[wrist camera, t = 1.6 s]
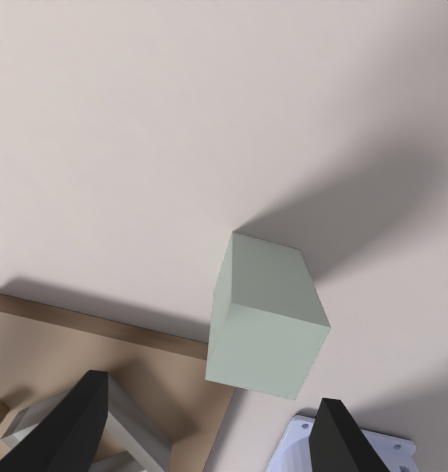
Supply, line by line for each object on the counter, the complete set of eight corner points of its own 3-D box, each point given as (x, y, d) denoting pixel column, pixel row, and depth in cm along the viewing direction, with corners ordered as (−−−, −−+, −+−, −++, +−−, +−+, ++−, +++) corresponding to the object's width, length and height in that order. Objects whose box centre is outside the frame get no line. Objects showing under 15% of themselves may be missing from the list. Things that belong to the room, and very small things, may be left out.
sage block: (299, 249, 20) (331, 327, 13) (276, 306, 21) (295, 400, 15) (232, 231, 20) (231, 302, 13) (213, 290, 21) (205, 379, 15)
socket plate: (242, 352, 23) (243, 395, 20) (186, 497, 29) (180, 548, 26) (-7, 292, 21) (-49, 328, 18) (-10, 457, 28) (-42, 506, 24)
